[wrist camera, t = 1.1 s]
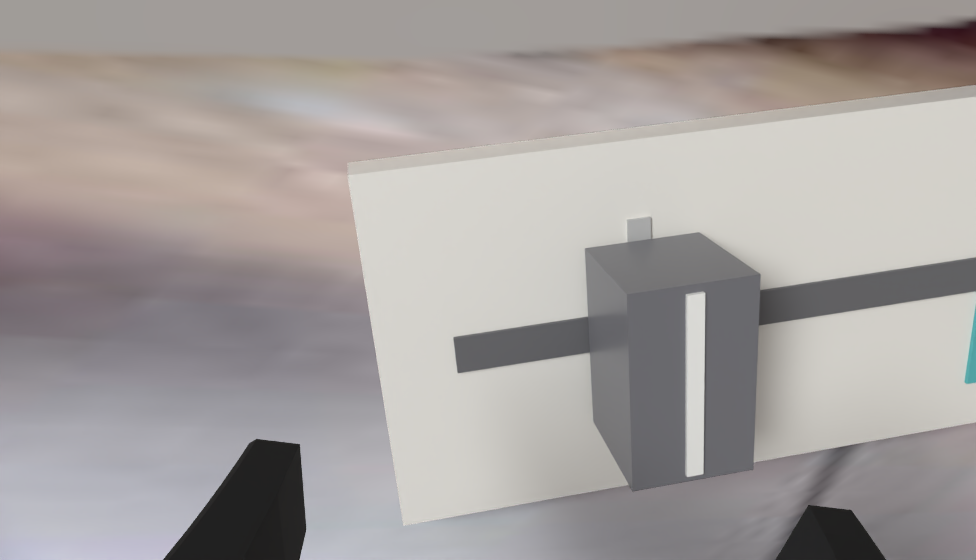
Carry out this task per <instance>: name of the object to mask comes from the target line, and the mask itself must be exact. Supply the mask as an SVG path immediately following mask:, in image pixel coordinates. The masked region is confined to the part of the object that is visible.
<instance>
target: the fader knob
mask: <svg viewBox="0 0 976 560" xmlns="http://www.w3.org/2000/svg"><path fill="white" fill-rule="evenodd" d="M585 263H586V283H587V304H588V324H589V345H590V365H591V386H592V406H593V422H594V424H595V426H596V427H597V429H598V431H599V433H600V434H601V436H602V438H603V440H604V442H605V443H606V445H607V447H608V449H609V450H610V452H611V454H612V456H613V458H614V459H615V461H616V463H617V465H618V466H619V468H620V470H621V472H622V474H623V475H624V477H625V479H626V481H627V482H628V484H629V486H630V488H631V490H632V491H638V490H643V489H649V488H654V487H660V486H665V485H671V484H676V483H682V482H687V481H693V480H698V479H704V478H709V477H715V476H720V475H726V474H731V473H737V472H742V471H748V470H753V465H754V439H755V412H756V386H757V360H758V333H759V307H760V281H761V274H760V273H758V272H757V271H755V270H754V269H752V268H751V267H749V266H748V265H747V264H745V263H744V262H742V261H741V260H739V259H738V258H736V257H735V256H733V255H732V254H730V253H729V252H728V251H726V250H725V249H723V248H722V247H720V246H719V245H717V244H716V243H714V242H713V241H711V240H710V239H709V238H707V237H706V236H704V235H703V234H701V233H700V232H696V233H689V234H682V235H675V236H668V237H661V238H654V239H647V240H640V241H633V242H626V243H619V244H612V245H605V246H598V247H591V248H585Z"/></svg>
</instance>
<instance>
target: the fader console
mask: <svg viewBox="0 0 976 560" xmlns="http://www.w3.org/2000/svg"><path fill="white" fill-rule="evenodd" d="M348 181H349V188H350V194H351V200H352V206H353V213H354V219H355V225H356V232H357V238H358V244H359V250H360V257H361V263H362V269H363V275H364V282H365V288H366V294H367V300H368V307H369V313H370V319H371V325H372V332H373V338H374V344H375V351H376V357H377V363H378V369H379V376H380V382H381V388H382V394H383V401H384V407H385V413H386V419H387V426H388V432H389V438H390V445H391V451H392V457H393V463H394V470H395V476H396V482H397V488H398V495H399V501H400V507H401V513H402V520H403V526H405V525H410V524H416V523H422V522H427V521H433V520H438V519H444V518H449V517H455V516H460V515H466V514H471V513H477V512H482V511H488V510H493V509H499V508H505V507H510V506H516V505H521V504H527V503H532V502H538V501H543V500H549V499H554V498H560V497H565V496H571V495H576V494H582V493H588V492H593V491H599V490H604V489H610V488H615V487H621V486H626V485H629V484H628V482H627V481H626V479H625V477H624V475H623V474H622V472H621V470H620V468H619V466H618V465H617V463H616V461H615V459H614V458H613V456H612V454H611V452H610V450H609V449H608V447H607V445H606V443H605V442H604V440H603V438H602V436H601V434H600V433H599V431H598V429H597V427H596V426H595V424H594V422H593V406H592V386H591V365H590V345H589V324H588V304H587V283H586V263H585V248H591V247H598V246H605V245H612V244H619V243H626V242H633V241H640V240H647V239H654V238H661V237H668V236H675V235H682V234H689V233H696V232H700V233H701V234H703V235H704V236H706V237H707V238H709V239H710V240H711V241H713V242H714V243H716V244H717V245H719V246H720V247H722V248H723V249H725V250H726V251H728V252H729V253H730V254H732V255H733V256H735V257H736V258H738V259H739V260H741V261H742V262H744V263H745V264H747V265H748V266H749V267H751V268H752V269H754V270H755V271H757V272H758V273H760V274H761V281H760V307H759V333H758V360H757V386H756V412H755V439H754V462H759V461H765V460H770V459H776V458H781V457H787V456H792V455H798V454H803V453H809V452H814V451H820V450H825V449H831V448H837V447H842V446H848V445H853V444H859V443H864V442H870V441H875V440H881V439H886V438H892V437H897V436H903V435H909V434H914V433H920V432H925V431H931V430H936V429H942V428H947V427H953V426H958V425H964V424H969V423H975V422H976V85H972V86H964V87H956V88H948V89H939V90H931V91H923V92H915V93H907V94H899V95H891V96H883V97H875V98H867V99H858V100H850V101H842V102H834V103H826V104H818V105H810V106H802V107H794V108H786V109H777V110H769V111H761V112H753V113H745V114H737V115H729V116H721V117H713V118H705V119H696V120H688V121H680V122H672V123H664V124H656V125H648V126H640V127H632V128H624V129H615V130H607V131H599V132H591V133H583V134H575V135H567V136H559V137H551V138H543V139H534V140H526V141H518V142H510V143H502V144H494V145H486V146H478V147H470V148H462V149H453V150H445V151H437V152H429V153H421V154H413V155H405V156H397V157H389V158H381V159H372V160H364V161H356V162H348Z"/></svg>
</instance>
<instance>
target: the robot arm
mask: <svg viewBox="0 0 976 560" xmlns="http://www.w3.org/2000/svg"><path fill="white" fill-rule="evenodd" d="M305 532H306V520H305V507H304V494H303V481H302V468H301V455H300V444H293V443H285V442H277V441H268V440H260V439H256V440H254V441H253V442H251V443H249V445H248V446H247V448H246V449H245V451H244V452H243V454H242V455H241V457H240V458H239V460H238V461H237V463H236V464H235V466H234V467H233V468H232V470H231V471H230V473H229V474H228V476H227V477H226V478H225V480H224V481H223V483H222V484H221V486H220V487H219V488H218V490H217V491H216V492H215V494H214V495H213V496H212V498H211V499H210V501H209V502H208V503H207V505H206V506H205V507H204V509H203V510H202V511H201V512H200V514H199V515H198V516H197V518H196V519H195V520H194V522H193V523H192V524H191V526H190V527H189V528H188V530H187V531H186V532H185V533H184V535H183V536H182V537H181V538H180V539H179V541H178V542H177V543H176V544H175V546H174V547H173V548H172V549H171V551H170V552H169V553H168V554H167V556H166V557H165V558H164V559H163V560H299V559H300V554H301V550H302V546H303V541H304V537H305ZM776 560H886V559H885V558H884V556H883V555H882V553H881V552H880V550H879V549H878V547H877V546H876V545H875V543H874V542H873V540H872V539H871V537H870V536H869V534H868V533H867V532H866V530H865V529H864V527H863V526H862V525H861V523H860V522H859V520H858V519H857V517H856V516H855V515H854V513H853V512H852V510H845V509H837V508H828V507H820V506H811V505H808V507H807V509H806V510H805V512H804V514H803V515H802V517H801V519H800V520H799V522H798V524H797V525H796V527H795V529H794V530H793V532H792V534H791V535H790V537H789V539H788V540H787V542H786V544H785V545H784V547H783V549H782V550H781V552H780V554H779V555H778V557H777V559H776Z"/></svg>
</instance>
